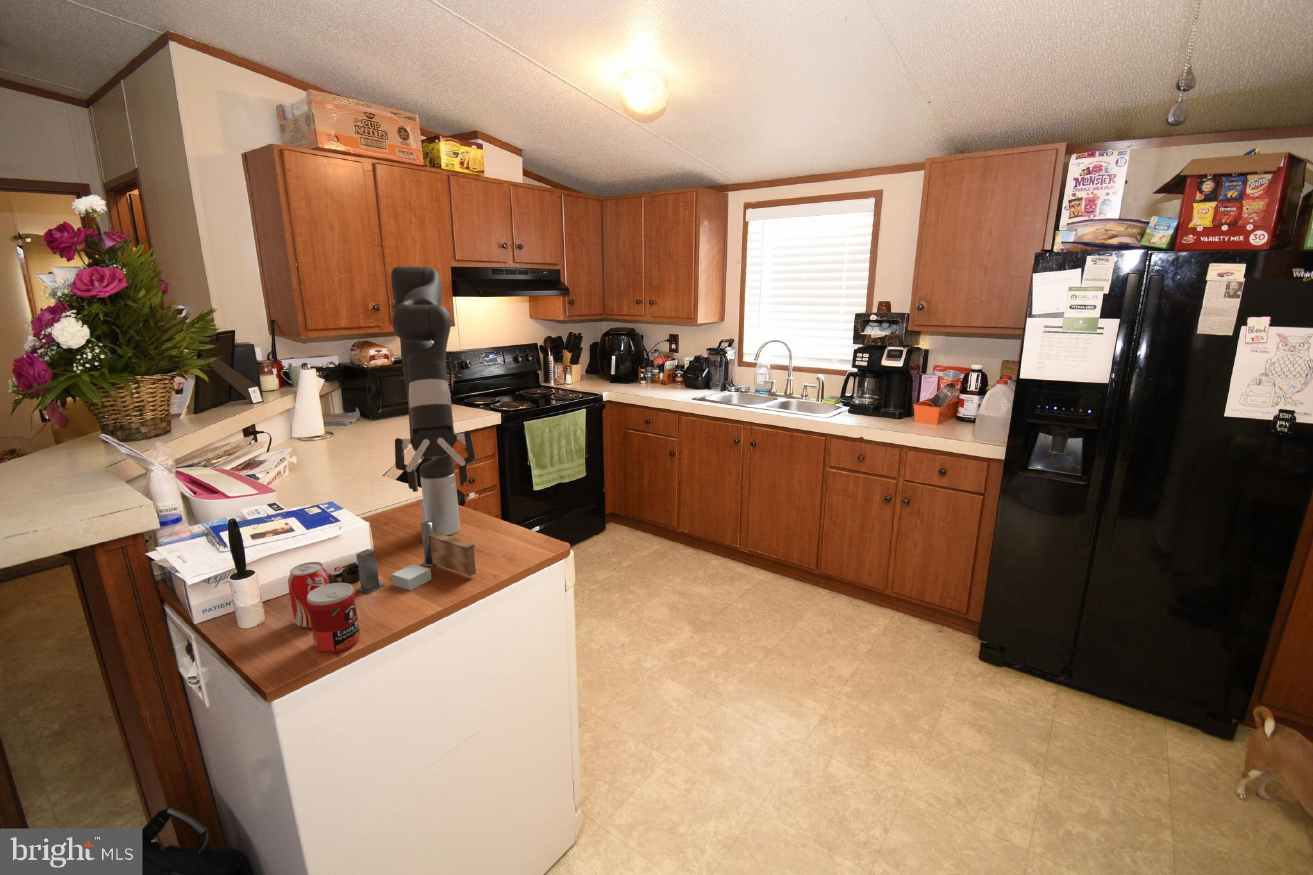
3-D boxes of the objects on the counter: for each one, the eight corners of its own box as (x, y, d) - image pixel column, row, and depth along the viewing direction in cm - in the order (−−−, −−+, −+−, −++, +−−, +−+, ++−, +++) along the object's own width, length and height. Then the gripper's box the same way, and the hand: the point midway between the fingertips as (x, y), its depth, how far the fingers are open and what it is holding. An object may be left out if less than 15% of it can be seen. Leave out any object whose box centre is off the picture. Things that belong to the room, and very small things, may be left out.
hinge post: (418, 565, 143) (414, 524, 140) (431, 558, 146) (427, 518, 144) (430, 568, 141) (425, 526, 139) (442, 561, 144) (438, 521, 142)
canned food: (341, 657, 105) (333, 603, 103) (304, 652, 107) (295, 599, 104) (369, 634, 113) (362, 584, 110) (334, 630, 114) (327, 580, 112)
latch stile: (356, 590, 130) (351, 554, 128) (373, 582, 134) (368, 547, 132) (367, 594, 128) (362, 557, 126) (384, 585, 132) (379, 550, 130)
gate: (431, 563, 142) (428, 535, 140) (438, 559, 143) (435, 532, 142) (469, 576, 134) (467, 547, 132) (477, 573, 136) (474, 544, 134)
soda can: (306, 634, 113) (297, 579, 110) (288, 624, 117) (278, 570, 114) (341, 617, 119) (333, 565, 116) (323, 608, 122) (315, 557, 120)
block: (393, 585, 133) (391, 574, 132) (414, 575, 138) (412, 563, 137) (410, 591, 130) (409, 579, 130) (431, 580, 135) (430, 568, 135)
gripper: (470, 405, 115) (478, 484, 114) (394, 411, 111) (402, 493, 110) (468, 399, 108) (476, 483, 107) (387, 405, 104) (395, 493, 103)
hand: (439, 488), depth 109 cm, fingers open, 8 cm apart
